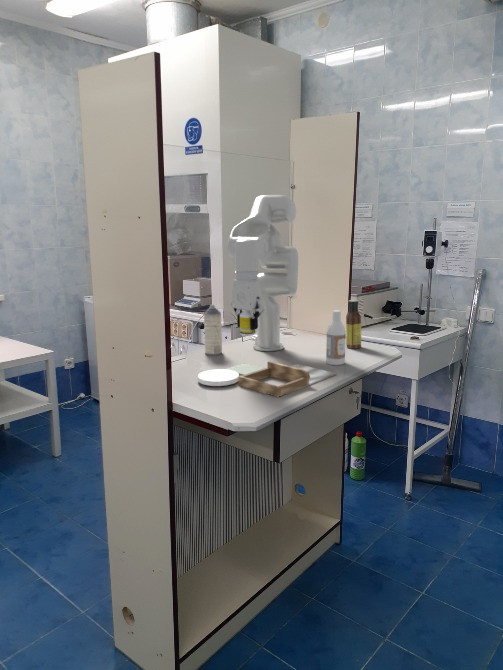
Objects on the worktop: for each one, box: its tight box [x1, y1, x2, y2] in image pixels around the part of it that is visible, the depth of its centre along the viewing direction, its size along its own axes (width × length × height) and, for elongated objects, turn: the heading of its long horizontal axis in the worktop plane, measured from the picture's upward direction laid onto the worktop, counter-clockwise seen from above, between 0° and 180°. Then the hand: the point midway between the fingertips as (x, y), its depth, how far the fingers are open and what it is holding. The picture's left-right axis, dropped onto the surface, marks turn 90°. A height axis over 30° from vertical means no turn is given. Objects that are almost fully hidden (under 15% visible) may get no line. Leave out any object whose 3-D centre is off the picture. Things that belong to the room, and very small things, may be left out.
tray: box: [226, 363, 265, 376], centre depth 191 cm, size 12×10×2 cm
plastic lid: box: [197, 368, 239, 387], centre depth 183 cm, size 14×14×2 cm
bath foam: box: [325, 309, 346, 366], centre depth 200 cm, size 7×7×20 cm
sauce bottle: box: [345, 299, 362, 350], centre depth 223 cm, size 6×6×20 cm
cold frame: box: [238, 360, 337, 398], centre depth 183 cm, size 17×31×5 cm, turn 136°
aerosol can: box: [203, 304, 223, 357], centre depth 216 cm, size 7×7×20 cm
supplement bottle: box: [239, 310, 256, 337], centre depth 187 cm, size 5×5×10 cm
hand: (247, 327), depth 187 cm, fingers closed on supplement bottle, 5 cm apart
